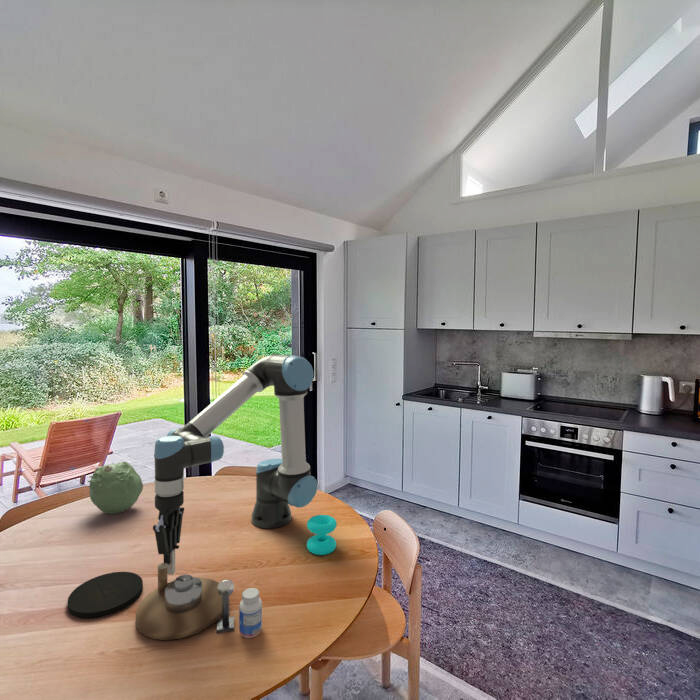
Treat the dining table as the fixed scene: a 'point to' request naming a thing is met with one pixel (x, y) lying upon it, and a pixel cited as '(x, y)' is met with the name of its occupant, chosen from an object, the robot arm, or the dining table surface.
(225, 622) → the dial post
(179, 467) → the robot arm
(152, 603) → the turntable
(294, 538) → the dining table surface
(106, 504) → the cabbage
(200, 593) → the cover
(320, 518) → the donuts
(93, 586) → the wireless charger
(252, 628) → the pill bottle
